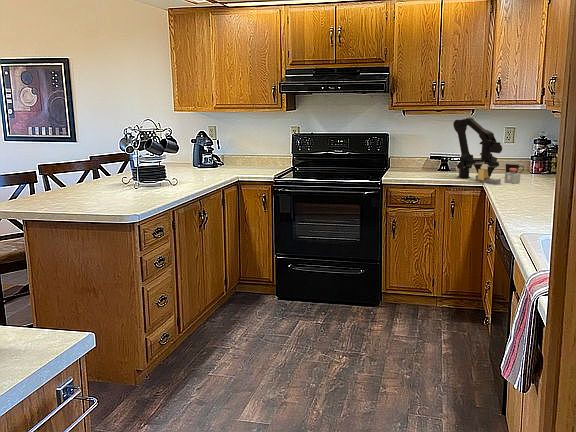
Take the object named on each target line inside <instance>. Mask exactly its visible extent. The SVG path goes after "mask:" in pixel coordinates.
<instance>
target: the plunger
mask: <svg viewBox="0 0 576 432" xmlns="http://www.w3.org/2000/svg"><path fill="white" fill-rule="evenodd" d="M510 170H511V174H515V171H517V169H516V168H510Z"/></svg>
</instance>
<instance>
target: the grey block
mask: <svg viewBox="0 0 576 432" xmlns="http://www.w3.org/2000/svg"><path fill="white" fill-rule="evenodd" d="M504 183H508V184H520V183H521V173H519V172H517V173H515V174H511V172H509V173H506V172H505V173H504Z"/></svg>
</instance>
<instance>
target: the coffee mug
mask: <svg viewBox="0 0 576 432" xmlns="http://www.w3.org/2000/svg"><path fill="white" fill-rule="evenodd" d="M520 167H522V170H521V171H519V168H520ZM510 168H516V169H517V171H515V173H519V174H521V173H522V172H523V171H524V170H525V166H523V165H520V163H516V162H506V163H505V173H509V172H511V170H510Z"/></svg>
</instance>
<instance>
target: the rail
mask: <svg viewBox="0 0 576 432" xmlns="http://www.w3.org/2000/svg"><path fill="white" fill-rule="evenodd" d="M475 181H476V182H477V181H478V182H482V183H486V184H487V183H488V184H492V185H501V181H502V179H501V178H497V179H496V178H491V177H490V178H485V179H484V180H480V179H478V174H477V175H475Z"/></svg>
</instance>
